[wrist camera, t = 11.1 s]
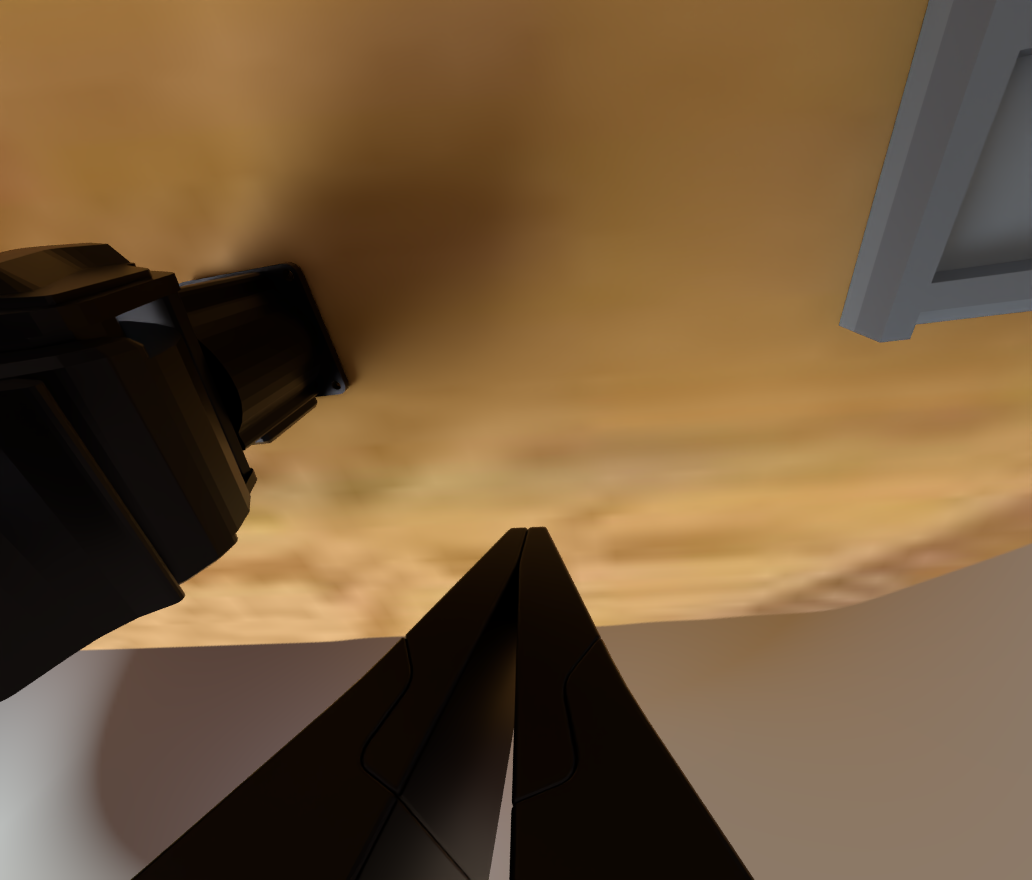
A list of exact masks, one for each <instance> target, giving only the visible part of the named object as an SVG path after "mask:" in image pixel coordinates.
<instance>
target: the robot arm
mask: <svg viewBox="0 0 1032 880" xmlns="http://www.w3.org/2000/svg"><path fill="white" fill-rule="evenodd" d="M288 270H289V271H291V272H292V274H293V277H294V278H293V279H291V278H290V277H289V275H288ZM335 381H337V382H339V383H340V385H341V387H339V386H338V385H337V384H336V382H335ZM348 387H349V383H348V380H347V377H346V375H345V373H344V370H343V368H342V365H341V363H340V361H339V358H338V356H337V353H336V351H335V349H334V346H333V344H332V341H331V339H330V337H329V334H328V332H327V329H326V327H325V325H324V322H323V320H322V318H321V315H320V313H319V310H318V308H317V306H316V303H315V301H314V298H313V296H312V294H311V291H310V289H309V286H308V284H307V282H306V279H305V277H304V274H303V272H302V270H301V269H300V268H299V267H298V266H297V265H296V264H294V263H283V264H278V265H272V266H267V267H262V268H256V269H251V270H246V271H240V272H235V273H230V274H224V275H219V276H214V277H208V278H203V279H198V280H192V281H187V282H182V283H180V284H179V283H178V281H177V278H176V276H175V273H173V272H162V271H150V270H149V269H148V268H142V267H136V265H135V263H130V262H129V261H128V260H127V259H125V258H124V257H123V256H122V255H121V254H119V253H118V252H117V251H116V250H114V249H113V248H112V247H111V246H109V245H108V244H100V243H79V244H65V245H51V246H39V247H29V248H21V249H14V250H9V251H5V252H1V253H0V702H1V701H3V700H5V699H7V698H9V697H10V696H12V695H14V694H16V693H17V692H19V691H20V690H21V689H23V688H24V687H26V686H27V685H29V684H30V683H32V682H33V681H35V680H36V679H38V678H39V677H40V676H42V675H44V674H45V673H46V672H48V671H49V670H51V669H52V668H54V667H55V666H57V665H58V664H60V663H61V662H63V661H64V660H66V659H67V658H68V657H70V656H71V655H73V654H74V653H76V652H78V651H79V650H81V649H82V648H84V647H86V646H87V645H89V644H90V643H92V642H93V641H95V640H97V639H98V638H100V637H102V636H104V635H105V634H107V633H109V632H111V631H113V630H115V629H117V628H119V627H121V626H123V625H125V624H127V623H129V622H131V621H133V620H135V619H137V618H139V617H141V616H144V615H147V614H149V613H152V612H155V611H157V610H160V609H163V608H166V607H168V606H171V605H174V604H176V603H178V602H180V601H181V600H182V599H183V598H184V597H185V593H184V592H183V590H182V589H181V587H180V586H179V585H180V584H182V583H184V582H186V581H188V580H189V579H191V578H192V577H194V576H195V575H197V574H198V573H200V572H201V571H203V570H204V569H206V568H207V567H209V566H210V565H211V564H213V563H214V562H216V561H217V560H218V559H219V558H221V557H222V556H223V555H224V554H225V553H226V552H227V551H228V550H229V549H230V548H231V547H232V546H233V545H235V543H236V542H237V540H238V537H237V535H236V532H237V531H238V530H239V528H240V526H241V525H242V523H243V521H244V520H245V518H246V516H247V515H248V513H249V511H250V497H251V496H250V493H251V491H252V489H253V487H254V485H255V483H256V481H257V477H256V475H255V472H254V470H253V469H252V468H250V467H249V465H248V462H247V460H246V457H245V455H244V453H243V450H245V449H247V448H248V447H249V446H251V445H255V444H266V443H271V442H272V441H274V440H275V439H276V438H277V437H279V436H280V435H281V434H282V433H284V432H285V431H286V430H287V429H289V428H290V427H291V426H292V425H294V424H295V423H296V422H297V421H299V420H300V419H301V418H302V417H303V416H305V415H306V414H307V413H308V412H310V411H311V410H312V409H313V408H315V407H316V405H317V403H318V402H317V400H316V398H315V397H319V396H327V395H336V394H341V393H343V392H345V391H346V390H347V389H348ZM405 637H406V639H405V638H401V639H400V640H399V641H398V642H397V643H396V644H395V645H394V646H393V647H392V648H391V649H390V650H389V651H388V652H387V653H386V654H385V655H384V656H383V657H382V658H381V659H380V660H379V661H378V662H377V663H376V664H375V665H374V666H373V667H372V668H371V669H370V670H369V671H368V672H367V673H366V674H365V675H364V676H363V677H362V678H361V679H360V680H358V681H357V682H356V683H355V684H354V685H353V686H352V687H351V688H349V689H348V690H347V691H346V692H345V693H344V694H343V695H342V696H341V697H339V698H338V699H337V700H336V701H335V702H334V703H333V704H332V705H331V706H330V707H328V708H327V709H326V710H325V711H324V712H323V713H321V714H320V715H319V716H318V717H317V718H316V719H315V720H313V721H312V722H311V723H310V724H309V725H308V726H307V727H305V728H304V729H303V730H302V731H301V732H300V733H298V734H297V735H296V736H295V737H294V738H293V739H292V740H290V741H289V742H288V743H287V744H286V745H285V746H284V747H282V748H281V749H280V750H279V751H278V752H277V753H276V754H274V755H273V756H272V757H271V758H270V759H269V760H267V762H265V763H264V764H263V765H262V766H261V767H259V768H258V769H257V770H256V771H255V772H254V773H253V774H251V775H250V776H249V777H248V778H247V779H246V780H245V781H243V783H241V784H240V785H239V786H238V787H237V788H235V789H234V790H233V791H232V792H231V793H230V794H228V795H227V796H226V797H225V798H224V799H223V800H222V801H220V802H219V803H218V804H217V805H216V806H215V807H214V808H212V809H211V810H210V811H209V812H208V813H207V814H205V815H204V816H203V817H202V818H201V819H200V820H199V821H198V822H196V823H195V824H194V825H193V826H192V827H191V828H190V829H188V830H187V831H186V832H185V833H184V834H183V835H181V836H180V837H179V838H178V839H177V840H176V841H174V842H173V843H172V844H171V845H170V846H169V847H168V848H167V849H165V850H164V851H163V852H162V853H161V854H160V855H159V856H157V857H156V858H155V859H154V860H153V861H152V862H150V863H149V864H148V865H147V866H146V867H145V868H143V869H142V870H141V871H140V872H139V873H138V874H137V875H136V876H134V877H133V878H132V879H131V880H488V879H489V874H490V868H491V862H492V856H493V850H494V844H495V838H496V832H497V826H498V820H499V814H500V807H501V802H502V796H503V789H504V784H505V778H506V772H507V766H508V760H509V754H510V748H511V742H512V736H513V730H514V748H513V781H512V783H513V784H512V804H513V808H512V811H511V842H510V877H509V879H510V880H754V878H753V877H752V875H751V874H750V872H749V871H748V870H747V868H746V866H745V865H744V864H743V862H742V860H741V859H740V858H739V856H738V855H737V853H736V851H735V850H734V848H733V847H732V845H731V844H730V842H729V841H728V839H727V838H726V836H725V835H724V833H723V832H722V830H721V829H720V827H719V826H718V824H717V823H716V822H715V820H714V818H713V817H712V815H711V814H710V812H709V811H708V809H707V808H706V806H705V805H704V804H703V802H702V800H701V799H700V798H699V796H698V794H697V793H696V792H695V790H694V788H693V787H692V785H691V784H690V782H689V781H688V779H687V778H686V776H685V775H684V773H683V772H682V770H681V769H680V767H679V766H678V764H677V763H676V761H675V760H674V758H673V757H672V755H671V754H670V752H669V751H668V749H667V748H666V746H665V745H664V743H663V742H662V740H661V739H660V737H659V736H658V734H657V733H656V731H655V730H654V728H653V727H652V725H651V724H650V722H649V721H648V719H647V717H646V716H645V714H644V713H643V711H642V709H641V708H640V706H639V705H638V703H637V701H636V700H635V698H634V697H633V695H632V693H631V692H630V690H629V689H628V687H627V685H626V683H625V682H624V680H623V678H622V676H621V675H620V672H619V670H618V669H617V667H616V665H615V663H614V661H613V659H612V658H611V656H610V654H609V652H608V650H607V648H606V645H605V643H604V642H603V640H602V639H601V637H600V635H599V633H598V631H597V629H596V627H595V624H594V622H593V620H592V618H591V616H590V614H589V612H588V610H587V608H586V606H585V604H584V602H583V600H582V598H581V596H580V594H579V592H578V590H577V588H576V586H575V584H574V582H573V580H572V578H571V576H570V574H569V572H568V570H567V568H566V566H565V564H564V562H563V560H562V558H561V556H560V554H559V552H558V550H557V548H556V546H555V544H554V542H553V540H552V538H551V536H550V534H549V532H548V530H547V528H546V527H531V528H529V529H527V528H511V529H510V530H508V531H507V532H506V533H505V534H504V535H503V536H502V537H501V538H500V539H499V540H498V541H497V542H496V543H495V544H494V545H493V546H492V547H491V549H490V550H489V551H488V552H487V553H486V554H485V555H484V556H483V557H482V558H481V559H480V560H479V561H478V562H477V563H476V564H475V565H474V566H473V567H472V568H471V569H470V570H469V571H468V572H467V573H466V574H465V575H464V576H463V577H462V578H461V579H460V580H459V581H458V582H457V583H456V584H455V585H454V586H453V587H452V588H451V589H450V590H449V591H448V592H447V593H446V594H445V595H444V596H443V597H442V598H441V599H440V600H439V601H438V602H437V603H436V604H435V605H434V606H433V607H432V609H431V610H430V611H429V612H428V613H427V614H426V615H425V616H424V617H423V618H422V619H421V620H420V621H419V622H418V623H417V624H416V625H415V626H414V627H413V628H412V629H411V630H410V631H409V632H408V633H407V634H406V636H405Z"/></svg>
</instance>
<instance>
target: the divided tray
mask: <svg viewBox="0 0 1032 880" xmlns="http://www.w3.org/2000/svg"><path fill="white" fill-rule="evenodd" d="M1025 311H1032V0H929V3H928V6H927V10H926V14H925V17H924V21H923V24H922V28H921V32H920V35H919V39H918V42H917V46H916V50H915V53H914V57H913V60H912V64H911V68H910V71H909V75H908V78H907V82H906V86H905V89H904V93H903V96H902V100H901V104H900V107H899V111H898V114H897V118H896V122H895V125H894V129H893V132H892V136H891V140H890V143H889V147H888V150H887V154H886V158H885V161H884V165H883V168H882V172H881V175H880V179H879V183H878V186H877V190H876V193H875V197H874V201H873V204H872V208H871V211H870V215H869V219H868V222H867V226H866V229H865V233H864V237H863V240H862V244H861V247H860V251H859V255H858V258H857V262H856V265H855V269H854V273H853V276H852V280H851V283H850V287H849V291H848V294H847V298H846V301H845V305H844V309H843V312H842V316H841V319H840V323H839V326H841V327H844V328H846V329H849V330H851V331H853V332H856V333H858V334H861V335H863V336H866V337H868V338H870V339H873V340H875V341H878V342H888V341H897V340H906V339H910V338H911V335H912V333H913V330H914V327H915V325H916V324H923V323H932V322H940V321H949V320H957V319H966V318H974V317H983V316H991V315H1000V314H1008V313H1017V312H1025Z"/></svg>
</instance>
